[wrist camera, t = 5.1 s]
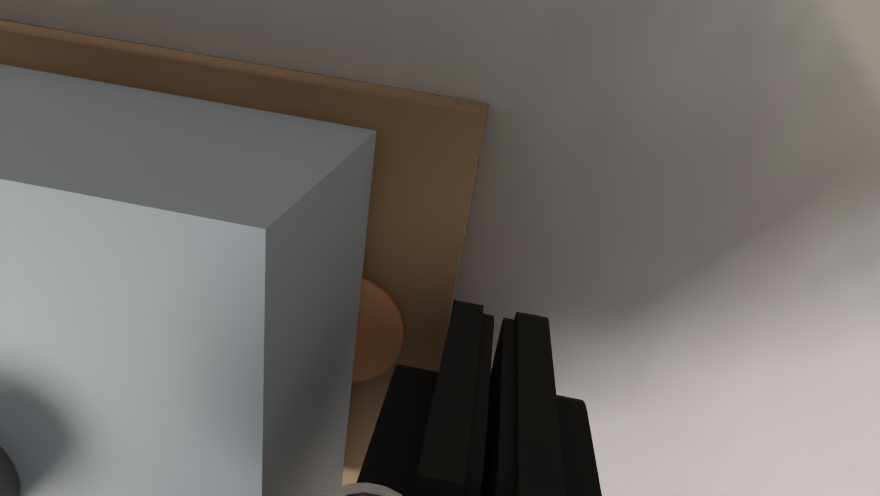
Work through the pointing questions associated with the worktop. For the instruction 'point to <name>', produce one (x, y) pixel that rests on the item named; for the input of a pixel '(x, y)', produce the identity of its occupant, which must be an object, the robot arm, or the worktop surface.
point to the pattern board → (391, 198)
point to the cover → (174, 292)
